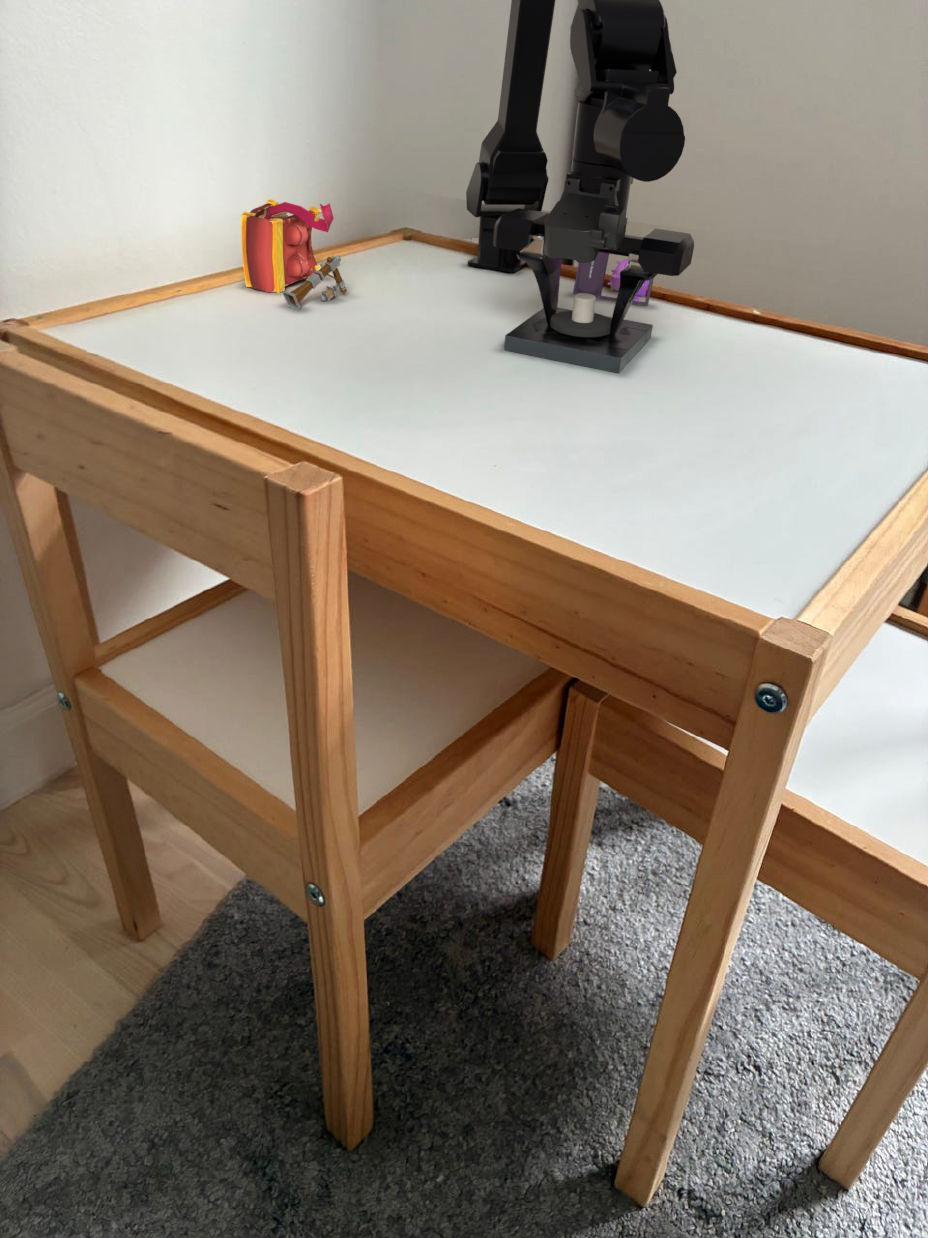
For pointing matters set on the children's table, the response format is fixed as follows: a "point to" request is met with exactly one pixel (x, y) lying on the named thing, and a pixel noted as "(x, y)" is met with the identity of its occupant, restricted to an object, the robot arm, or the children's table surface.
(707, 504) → the children's table surface
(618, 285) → the game card
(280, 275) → the book monster
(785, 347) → the children's table surface
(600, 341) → the sink plate
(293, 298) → the toy blunderbuss
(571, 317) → the stopper
